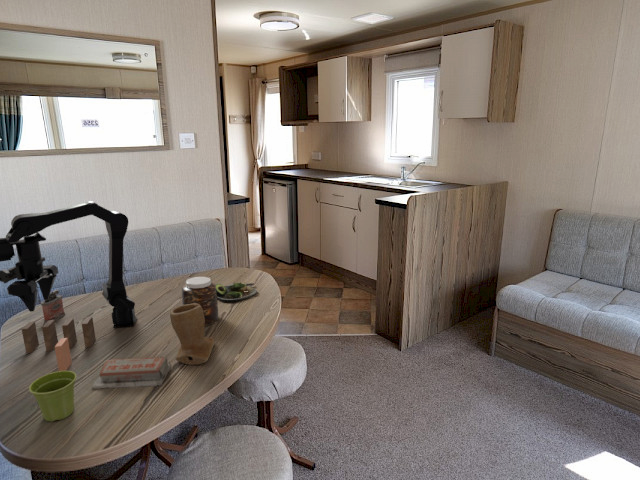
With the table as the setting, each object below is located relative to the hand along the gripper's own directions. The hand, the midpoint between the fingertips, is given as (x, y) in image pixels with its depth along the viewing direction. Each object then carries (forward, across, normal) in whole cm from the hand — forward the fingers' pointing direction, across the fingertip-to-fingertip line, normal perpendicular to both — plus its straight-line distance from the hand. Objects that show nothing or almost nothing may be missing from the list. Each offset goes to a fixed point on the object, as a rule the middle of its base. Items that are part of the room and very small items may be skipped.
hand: (39, 305), depth 129 cm
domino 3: (+14, +2, +8) cm, 16 cm away
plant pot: (+14, +38, +18) cm, 44 cm away
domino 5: (+14, +2, +13) cm, 19 cm away
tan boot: (+14, +14, +46) cm, 51 cm away
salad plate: (+14, -33, +57) cm, 67 cm away
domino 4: (+13, +16, +12) cm, 24 cm away
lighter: (+14, -21, -6) cm, 25 cm away
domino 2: (+13, +2, +2) cm, 14 cm away
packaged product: (+14, +24, +32) cm, 42 cm away
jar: (+14, -10, +46) cm, 50 cm away
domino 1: (+13, +2, -3) cm, 14 cm away
